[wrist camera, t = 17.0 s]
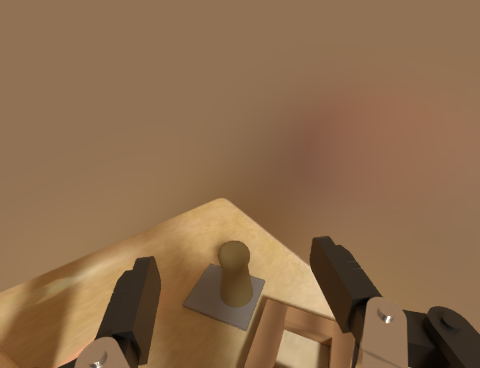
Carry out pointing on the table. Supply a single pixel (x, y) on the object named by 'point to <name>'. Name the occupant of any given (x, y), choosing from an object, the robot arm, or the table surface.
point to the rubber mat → (211, 304)
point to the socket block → (302, 324)
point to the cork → (235, 274)
